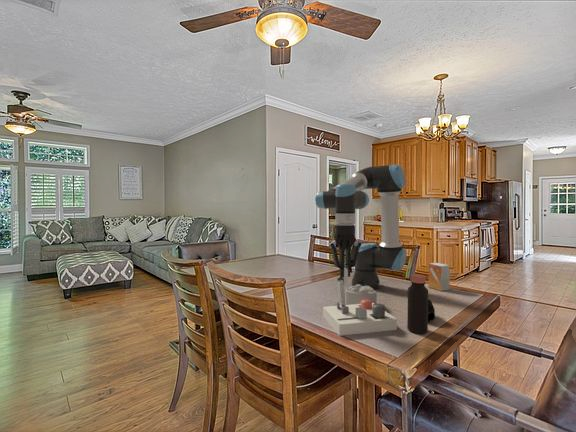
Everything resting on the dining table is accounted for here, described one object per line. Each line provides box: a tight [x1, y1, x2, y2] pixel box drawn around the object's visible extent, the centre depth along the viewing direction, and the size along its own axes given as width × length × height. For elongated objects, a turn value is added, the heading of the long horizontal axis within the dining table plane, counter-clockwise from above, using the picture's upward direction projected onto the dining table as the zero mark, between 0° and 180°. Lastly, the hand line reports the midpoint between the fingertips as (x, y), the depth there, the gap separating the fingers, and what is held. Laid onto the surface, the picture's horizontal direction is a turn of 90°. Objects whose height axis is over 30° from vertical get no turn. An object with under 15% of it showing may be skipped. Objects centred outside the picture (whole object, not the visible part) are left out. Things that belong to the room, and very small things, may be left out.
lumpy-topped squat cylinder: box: [345, 284, 378, 305], centre depth 136 cm, size 10×13×9 cm
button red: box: [361, 299, 372, 309], centre depth 123 cm, size 4×4×6 cm
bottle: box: [406, 273, 429, 335], centre depth 109 cm, size 7×7×20 cm
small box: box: [427, 262, 451, 292], centre depth 161 cm, size 8×6×13 cm
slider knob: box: [356, 307, 367, 319], centre depth 111 cm, size 3×3×3 cm
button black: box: [373, 303, 386, 319], centre depth 113 cm, size 4×4×6 cm
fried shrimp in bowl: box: [428, 298, 436, 322], centre depth 124 cm, size 9×11×18 cm
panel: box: [322, 301, 398, 336], centre depth 117 cm, size 22×18×6 cm
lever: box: [336, 276, 346, 308], centre depth 118 cm, size 2×3×13 cm
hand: (344, 285), depth 118 cm, fingers closed
